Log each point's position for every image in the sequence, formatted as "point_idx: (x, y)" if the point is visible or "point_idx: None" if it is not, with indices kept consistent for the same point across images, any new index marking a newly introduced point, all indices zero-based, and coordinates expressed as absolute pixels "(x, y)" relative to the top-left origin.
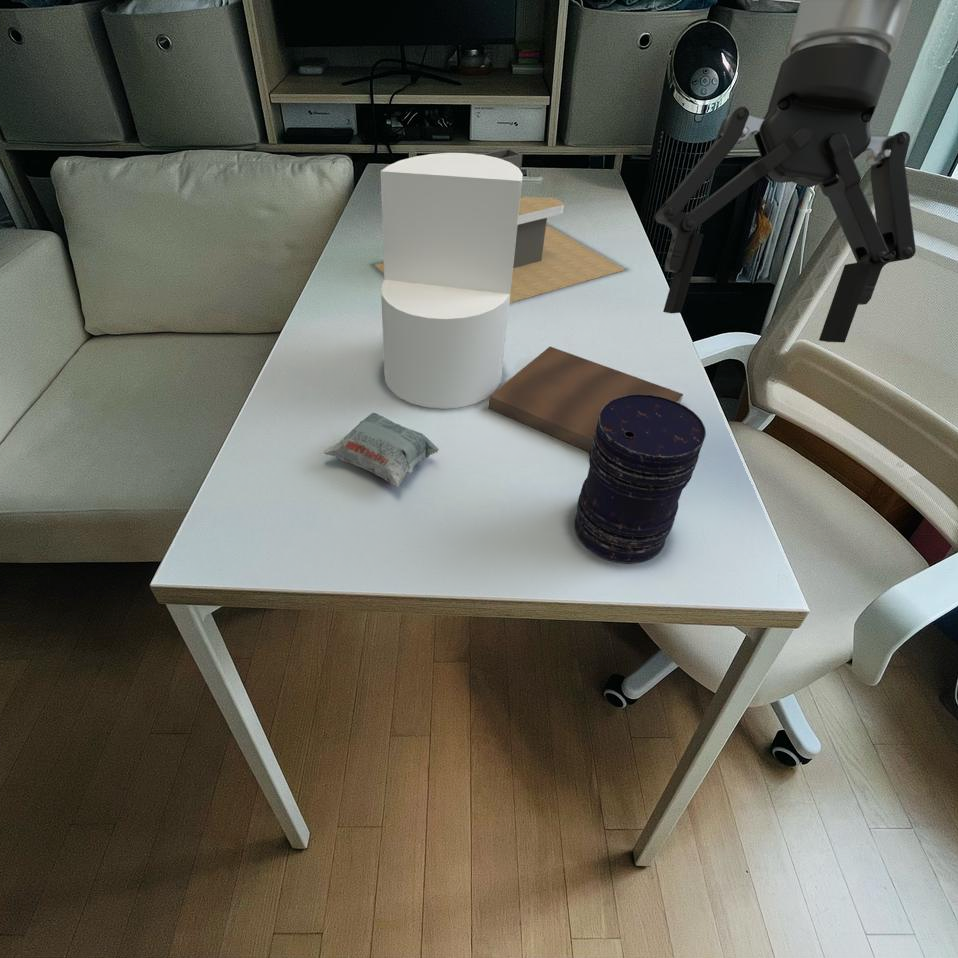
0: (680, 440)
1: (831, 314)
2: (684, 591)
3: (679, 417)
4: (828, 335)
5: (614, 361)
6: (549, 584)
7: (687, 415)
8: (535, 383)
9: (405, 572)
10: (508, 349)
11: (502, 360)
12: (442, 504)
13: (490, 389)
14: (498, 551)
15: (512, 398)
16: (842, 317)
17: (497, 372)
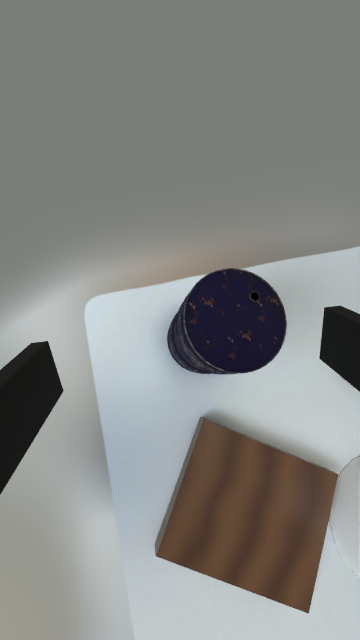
0: (207, 300)
1: (38, 411)
2: (154, 293)
3: (209, 340)
4: (52, 373)
5: (227, 623)
6: None
7: (201, 345)
8: (304, 516)
9: (319, 267)
10: (342, 600)
11: (353, 536)
12: (320, 332)
13: (338, 496)
14: None
15: (317, 479)
16: (27, 367)
17: (348, 515)
